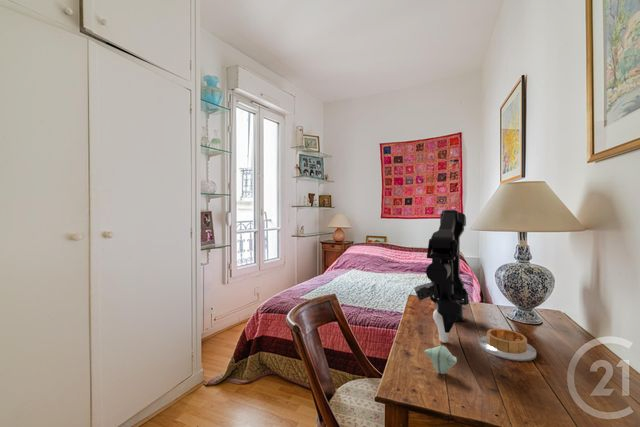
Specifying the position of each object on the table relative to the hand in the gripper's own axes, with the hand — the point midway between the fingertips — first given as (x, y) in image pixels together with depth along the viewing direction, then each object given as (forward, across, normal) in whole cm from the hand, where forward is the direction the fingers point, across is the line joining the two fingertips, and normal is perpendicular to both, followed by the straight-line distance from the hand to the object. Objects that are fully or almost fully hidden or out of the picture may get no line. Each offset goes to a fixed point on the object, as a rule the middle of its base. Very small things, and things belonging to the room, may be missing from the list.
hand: (443, 326), depth 89 cm
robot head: (+5, +18, -4) cm, 19 cm away
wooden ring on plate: (+5, +1, +17) cm, 18 cm away
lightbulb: (+5, 0, 0) cm, 5 cm away
